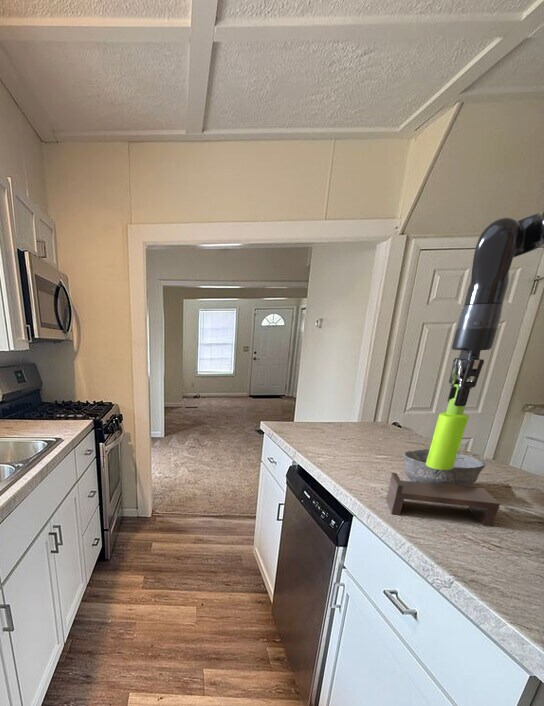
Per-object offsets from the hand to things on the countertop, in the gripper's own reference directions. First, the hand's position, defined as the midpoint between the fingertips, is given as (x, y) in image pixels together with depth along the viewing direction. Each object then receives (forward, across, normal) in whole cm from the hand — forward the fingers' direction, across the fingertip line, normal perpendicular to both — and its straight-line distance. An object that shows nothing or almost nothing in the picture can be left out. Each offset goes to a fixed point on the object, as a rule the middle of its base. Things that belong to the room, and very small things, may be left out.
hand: (456, 404), depth 97 cm
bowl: (+28, +21, -6) cm, 36 cm away
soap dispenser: (+16, 0, 0) cm, 16 cm away
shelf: (+28, 0, -2) cm, 28 cm away
